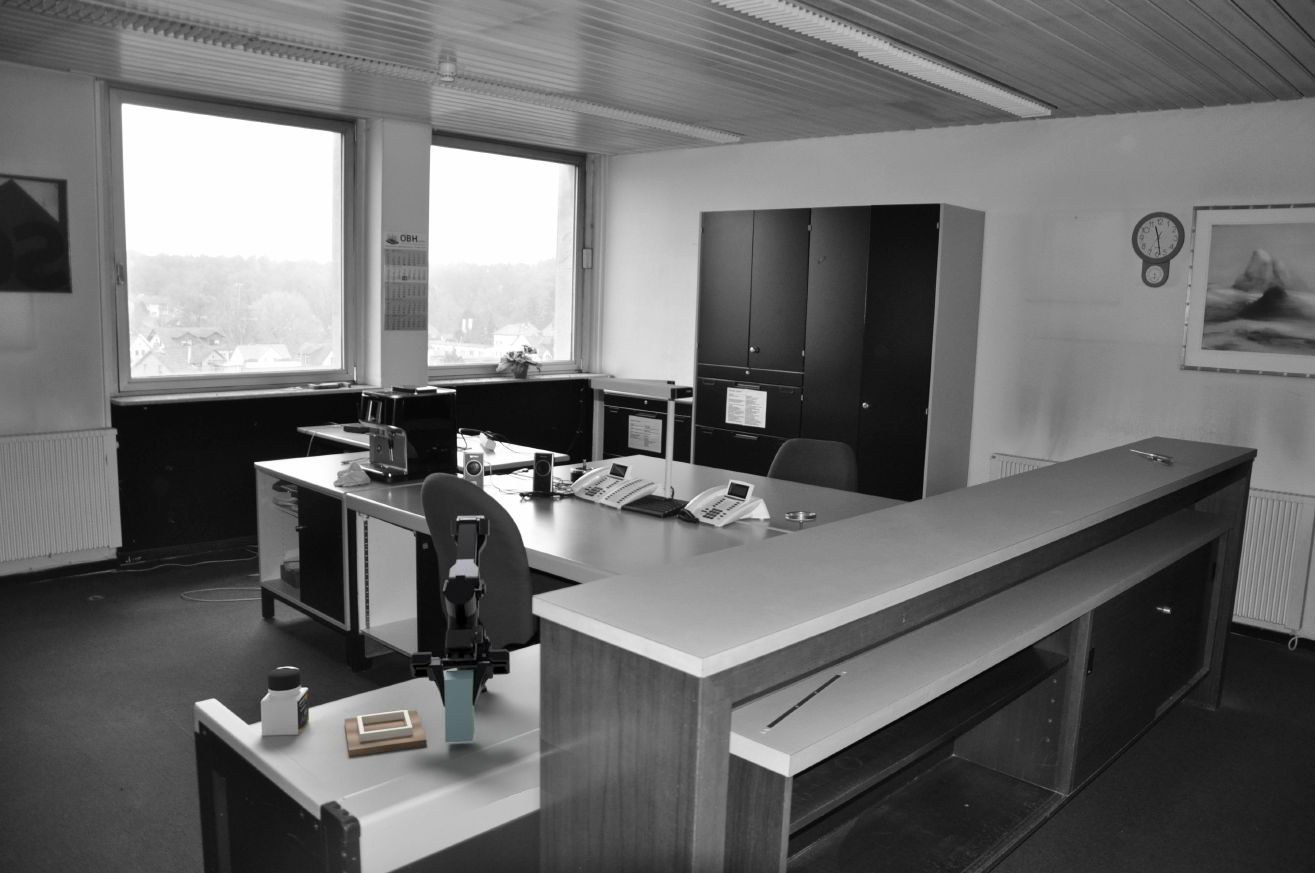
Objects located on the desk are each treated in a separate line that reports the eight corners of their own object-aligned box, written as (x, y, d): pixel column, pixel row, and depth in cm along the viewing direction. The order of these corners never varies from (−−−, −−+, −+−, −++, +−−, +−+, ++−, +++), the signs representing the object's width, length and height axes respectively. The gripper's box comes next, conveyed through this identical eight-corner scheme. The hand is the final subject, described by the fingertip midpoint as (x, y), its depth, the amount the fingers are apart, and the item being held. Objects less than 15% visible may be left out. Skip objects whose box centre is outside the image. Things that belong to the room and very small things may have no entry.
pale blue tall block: (447, 731, 183) (446, 670, 182) (474, 730, 183) (473, 669, 182) (445, 742, 178) (444, 679, 177) (472, 740, 178) (471, 678, 177)
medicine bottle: (299, 735, 185) (297, 675, 184) (261, 736, 185) (259, 675, 184) (309, 721, 192) (307, 663, 191) (273, 722, 192) (271, 663, 191)
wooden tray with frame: (344, 724, 190) (344, 711, 190) (416, 715, 195) (416, 702, 195) (349, 756, 176) (348, 742, 175) (426, 745, 180) (426, 731, 180)
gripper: (409, 611, 181) (403, 688, 171) (509, 608, 184) (508, 684, 174) (415, 639, 190) (409, 714, 180) (510, 636, 192) (509, 709, 182)
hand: (459, 705), depth 179 cm, fingers closed on pale blue tall block, 5 cm apart
